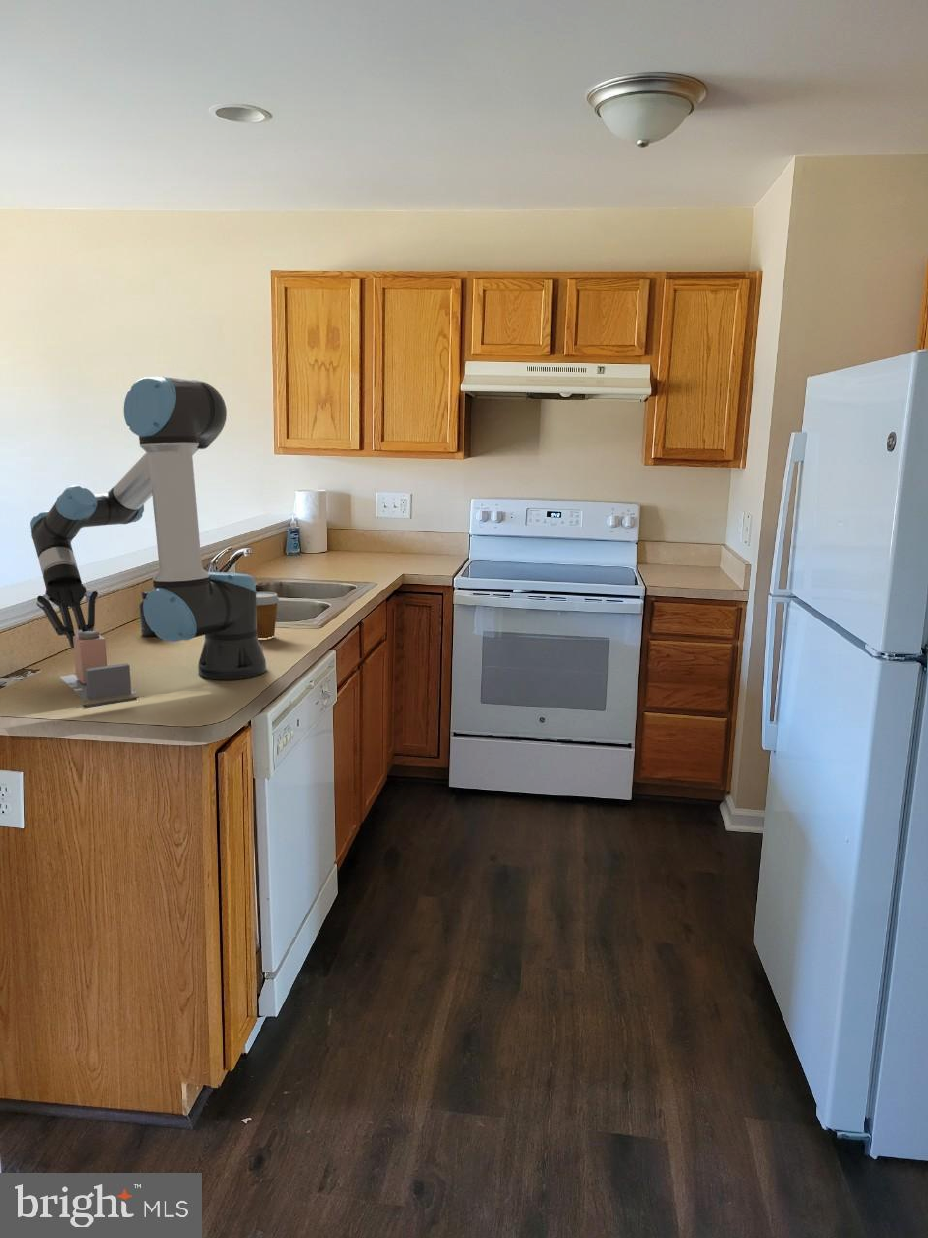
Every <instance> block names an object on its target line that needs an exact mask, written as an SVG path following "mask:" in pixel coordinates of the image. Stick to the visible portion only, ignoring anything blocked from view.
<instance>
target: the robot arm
mask: <svg viewBox="0 0 928 1238" xmlns="http://www.w3.org/2000/svg"><path fill="white" fill-rule="evenodd" d="M227 410H228V409H227V405H226V403H225V400H224V398H223V396H222V394H221V393H220V392H219V391H218V390H217V389H216V388H215V387H214V386H212V385H210V384H209V383H207V382H204V381H202V380H194V379H193V380H192V379H191V380H190V379H182V378H173V377H166V376H151V377H150V376H149V377H147V376H146V377H143V378H142V377H141V378H140V379H138V380H136V381H135V382H134V383H133V384H132V385H131V387H130V389H129V390H127V393H126V394H125V398H124V402H123V418H124V420H125V421H124V422H125V424H126V426H127V427H129V430H130V431H131V432H132V433H133V434H135V435H136V436H138V440H139V447H141V449H143V450H144V451H145V452H144V454H143V455H142V456H141V457H140V458H139V460H138V461H137V462H136V463H134V465H132V467H131V468H130V469H129V470H128V471H127V472H126V473H125V474H124V476H122V477H121V478H120V480H119V481H118V482H117V483H116V484H115V485H114V486H113V487H112V488H111V489H110V490H109V491H108V492H106V493H105V492H104V493H93V492H92V491H91V490H89V489H88V488H87V487H82V486H80V485H78V484H77V485H70V486H67V487H66V488H65V489H64V490H63V491H62V493H61V494H60V495H59V496H58V497H57V498H56V501H55V502H54V504H53V505H52V507H51V508H50V510H49V511H43V512H39V513H38V514H37V515H34V516H33V517H32V518H31V520H30V523H29V526H30V527H29V528H30V533H31V534H30V536H31V539H32V542H33V545H34V548H35V552H36V556H37V559H38V562H39V566H40V570H41V574H42V579H43V583H44V587H45V589H46V590H45V593H44V594H43V595H38V596H37V598H36V607H37V606H38V608H39V609H41V610H42V611H43V612H44V615H46V617H47V619H48V621H49V623H50V624H51V626H52V628H53V629H54V630H55V632H56V634H57V635H58V636H65V637H66V639H68V643H69V647H70V648H71V649H74V641H73V636H79V633H80V632H85V631H94V629H95V623H96V622H95V621H96V620H95V617H96V603H97V600H98V595H99V592H98V591H97V590H93V591H89V590H87V588H86V586H85V585H83V581H82V578H81V575H80V572H79V569H78V564H77V560H76V557H75V554H74V553H75V552H74V550H73V546H72V541H73V540H74V538H75V537H76V536H77V535H78V534H79V532H80V531H81V529H84V528H90V527H91V528H92V527H103V526H113V525H114V526H115V525H128V524H131V523H132V524H133V523H136V522H138V521H140V520H141V519H142V517H143V514H144V512H145V504H146V502H147V501H149V499H151V498H152V505H153V515H154V524H155V534H156V536H155V538H156V546H157V555H158V565H159V566H158V567H159V570H158V572H157V573H156V574H155V575H154V576H153V578H152V582H153V583H152V584H153V589H151V590H152V591H151V592H149V593H148V594H147V596H146V599H145V600H144V604H143V611H144V616H145V619H146V621H147V624H148V625H149V627H150V628H151V630H152V631H154V632H155V634H156V635H157V637H158V638H160V639H161V640H164V641H165V642H166V641H167V642H170V643H176V642H180V641H182V642H183V641H186V642H187V641H189V640H192V639H194V638H197V637H201V636H204V643H203V646H202V650H201V652H200V657H199V660H198V666H197V668H198V675H199V676H201V677H202V678H207V679H211V680H221V681H222V680H229V681H230V680H241V679H248V678H249V679H250V678H253V677H257V676H261V675H262V674H264V673H265V672H266V671H267V662H266V661H267V660H266V657H265V655H264V652H263V649H262V647H261V644H260V641H258V638H257V602H256V594H257V592H258V591H257V588H256V580H255V578H254V576H252V575H251V574H247V573H238V572H225V571H224V572H223V571H207V570H205V568H203V564H202V563H203V561H202V551H201V542H200V541H201V539H200V529H199V518H198V506H197V495H196V494H197V493H196V485H195V484H196V483H195V473H194V460H193V459H194V458H193V455H195V453H196V452H198V451H199V450H205V449H207V448H208V447H209V446H210V445H211V444H212V443H213V442H214V441H215V440H216V439H217V438H218V437H219V436H220V435H221V433H222V431H223V429H224V428H225V426H226V422H227V419H228V418H227V412H228V411H227ZM84 597H85V598H86V599H85V600H86V601H87V602H88V604H87V623H86V620H85V617H84V613H83V610H82V607H81V606H82V605H81V602H82V601H83V599H84ZM51 603H52V604H54V605H55V606H57V607H58V609H59V613H60V616H61V618H62V620H61V619H60V617H59V616H58V614H57V612H56V611H55V609H54V607H53V606H52V604H51ZM69 607H70V608H71V611H72V612H73V615H74V619H75V623H76V626H77V630H74V629H75V628H74V625H73V620H72V616H71V613H70V609H69Z"/></svg>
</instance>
